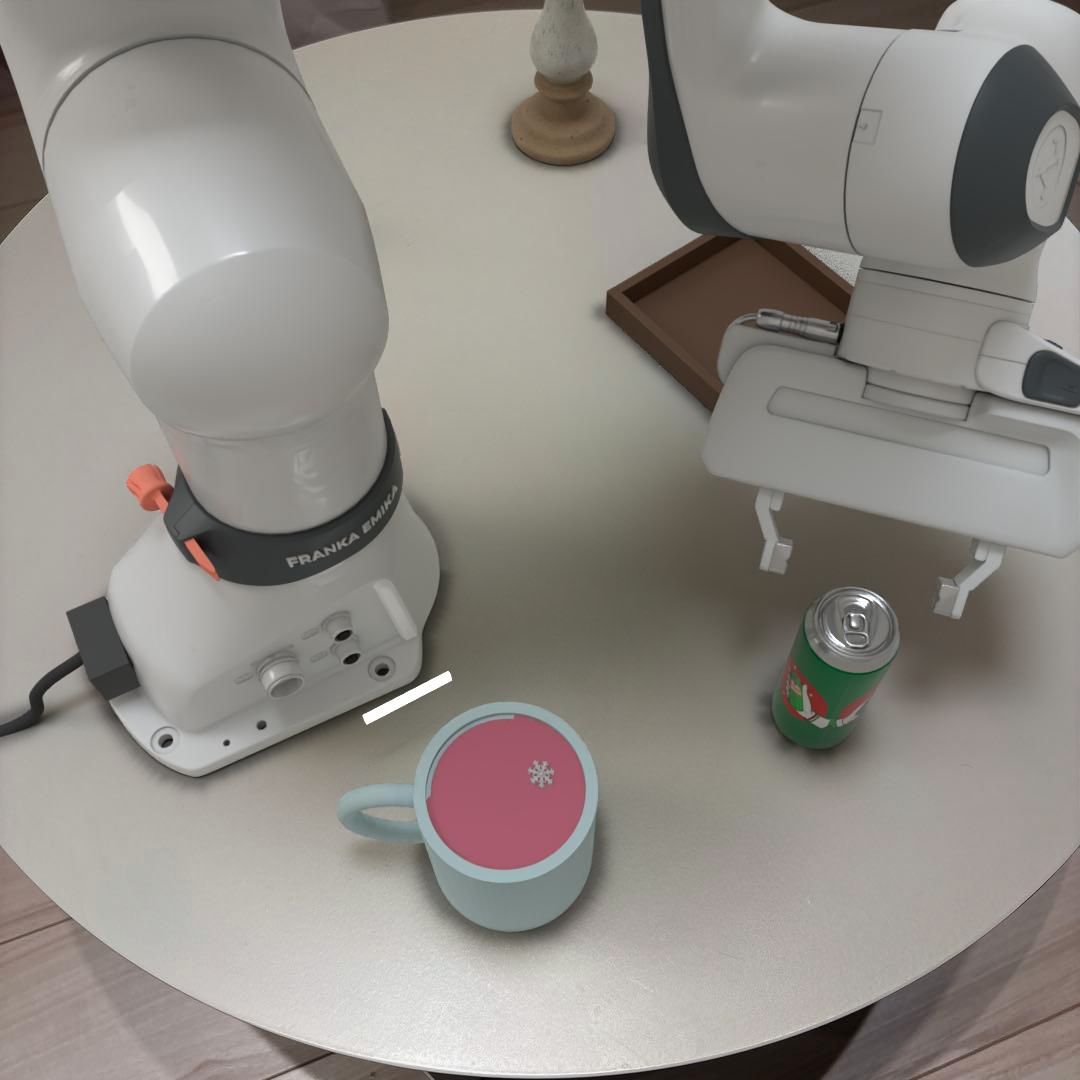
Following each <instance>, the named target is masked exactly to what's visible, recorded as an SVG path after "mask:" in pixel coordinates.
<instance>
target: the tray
mask: <svg viewBox="0 0 1080 1080" xmlns="http://www.w3.org/2000/svg"><path fill="white" fill-rule="evenodd" d="M853 289H854V285H852V284H851V283H850V282H849V281H847V280H846V279H845V278H843V277H842V276H841V275H840V274H838V273H837V272H836V271H835V270H834V269H832V268H831V267H830V266H828V265H827V264H826V263H825V262H823V261H822V260H821V259H819V258H818V257H817V255H815V254H814V253H812V252H811V251H809V250H808V249H807V248H806V247H805V246H804V245H799V244H793V243H788V242H783V241H777V240H772V239H761V240H760V239H748V238H737V237H726V236H715V235H704V234H700V236H698V237H696V238H694V239H693V240H691V241H689V242H688V243H686V244H684V245H682V246H681V247H679V248H678V249H676V250H674V251H672V252H671V253H669V254H667V255H666V256H664V257H662V258H661V259H659V260H657V261H655V262H654V263H651V264H650V265H649V266H647V267H645V268H643V269H642V270H640V271H638V272H637V273H635V274H633V275H632V276H630V277H628V278H626V279H625V280H623V281H622V282H620V283H618V284H616V285H615V286H613V287H610V289H607V290H606V294H605V295H606V298H605V314H606V315H607V316H608V317H609V318H610V319H611V320H612V321H613V322H614V323H615V324H616V325H617V326H618V327H620V328H621V330H623V332H625V333H626V334H627V335H628V336H629V337H630V338H632V340H633V341H635V343H637V344H638V345H639V346H640V347H641V348H642V349H643V350H644V351H646V353H648V354H649V355H650V356H651V357H652V358H653V359H654V360H655V361H656V362H658V364H660V366H662V367H663V368H664V369H665V370H666V371H667V372H668V373H669V374H670V375H671V376H672V377H673V378H675V380H677V381H678V382H679V383H680V384H681V385H682V386H684V388H685V389H687V390H688V391H689V392H690V393H691V394H692V395H693V396H694V397H695V398H696V399H698V401H699V402H701V403H702V405H704V406H705V407H706V408H707V409H708V410H709V411H710V412H712V413H713V411H714V408H715V406H716V403H717V401H718V398H719V396H720V393H721V391H722V389H723V387H724V384H723V382H722V381H721V379H720V377H719V374H718V370H717V359H718V355H719V351H720V347H721V343H722V339H723V335H724V333H725V331H726V329H727V328H728V326H729V325H730V324H731V323H732V322H733V321H734V320H736V319H737V318H739V317H741V316H743V315H747V314H758V311H759V309H774V310H778V311H782V312H784V314H788V315H792V316H797V317H802V318H803V317H807V318H816V319H821V320H825V321H830V322H835V323H840V324H843V322H844V323H845V318H846V315H847V311H848V307H849V304H850V300H851V296H852V292H853ZM755 323H756V321H751V322H746V323H744V324H742V325H745V326H749V327H754V328H759V327H757V326H755ZM759 329H761V328H759ZM763 330H764V329H763ZM777 333H782V334H786V335H791V336H795V337H799V336H798V335H797V336H796V335H793V334H789V333H785V332H780V331H779V332H777ZM800 338H803V337H800ZM832 345H833V344H832ZM838 346H839V344H838V342H836V349H835V353H834V356H836V355H837V354H836V352H837V348H838Z"/></svg>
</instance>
